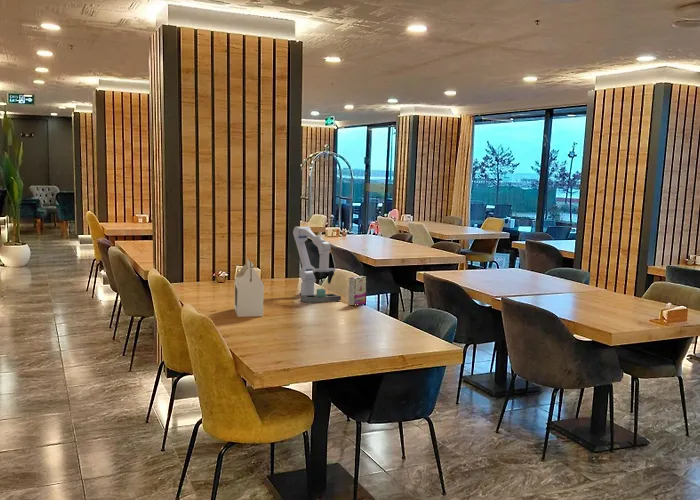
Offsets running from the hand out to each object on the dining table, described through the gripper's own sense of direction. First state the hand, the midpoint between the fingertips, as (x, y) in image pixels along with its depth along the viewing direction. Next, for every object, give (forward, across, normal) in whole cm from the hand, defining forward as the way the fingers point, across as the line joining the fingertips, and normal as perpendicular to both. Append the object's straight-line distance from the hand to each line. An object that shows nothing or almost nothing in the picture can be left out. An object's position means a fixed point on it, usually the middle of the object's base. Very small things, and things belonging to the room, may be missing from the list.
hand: (323, 283), depth 385 cm
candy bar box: (+10, +11, -23) cm, 27 cm away
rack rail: (+9, -4, -5) cm, 11 cm away
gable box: (+10, -56, -24) cm, 62 cm away
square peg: (+10, -4, -5) cm, 12 cm away
